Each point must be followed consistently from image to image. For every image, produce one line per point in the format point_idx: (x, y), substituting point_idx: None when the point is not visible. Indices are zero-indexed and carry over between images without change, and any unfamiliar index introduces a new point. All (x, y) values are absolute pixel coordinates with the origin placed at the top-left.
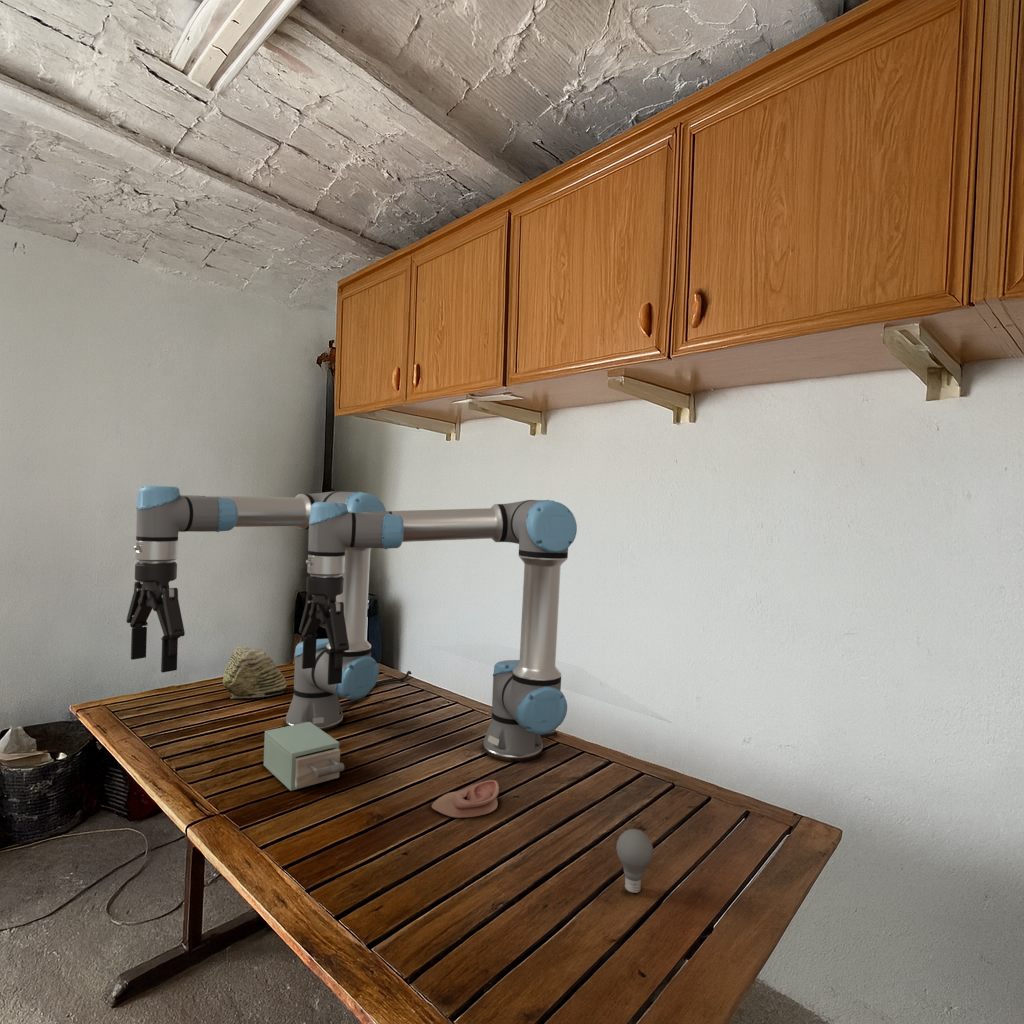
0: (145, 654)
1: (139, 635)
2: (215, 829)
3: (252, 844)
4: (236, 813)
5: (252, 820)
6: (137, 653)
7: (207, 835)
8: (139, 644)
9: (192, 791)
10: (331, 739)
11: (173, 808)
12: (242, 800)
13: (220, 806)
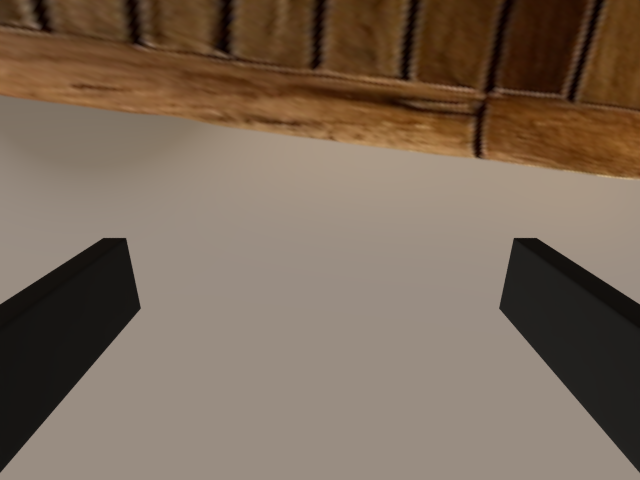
0: (115, 248)
1: (27, 380)
2: (530, 131)
3: (630, 114)
4: (515, 70)
5: (565, 64)
6: (117, 301)
7: (535, 151)
8: (80, 326)
9: (357, 83)
10: None
11: (397, 145)
12: (479, 28)
13: (463, 77)
